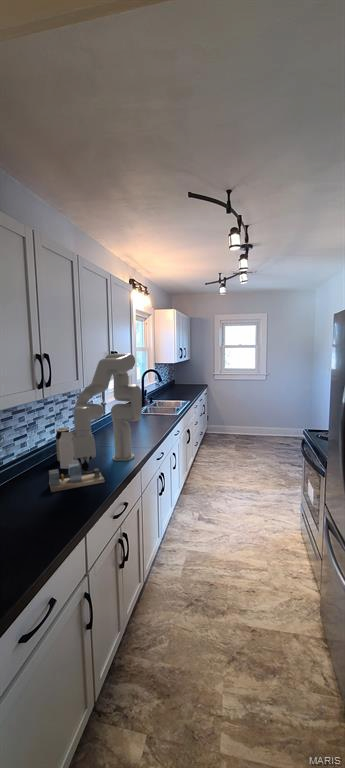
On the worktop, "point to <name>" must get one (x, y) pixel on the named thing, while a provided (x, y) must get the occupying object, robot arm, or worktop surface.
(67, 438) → the milk carton
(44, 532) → the worktop surface
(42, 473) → the worktop surface
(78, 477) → the sleeve
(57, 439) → the travel mug
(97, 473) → the slider mechanism
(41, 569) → the worktop surface
